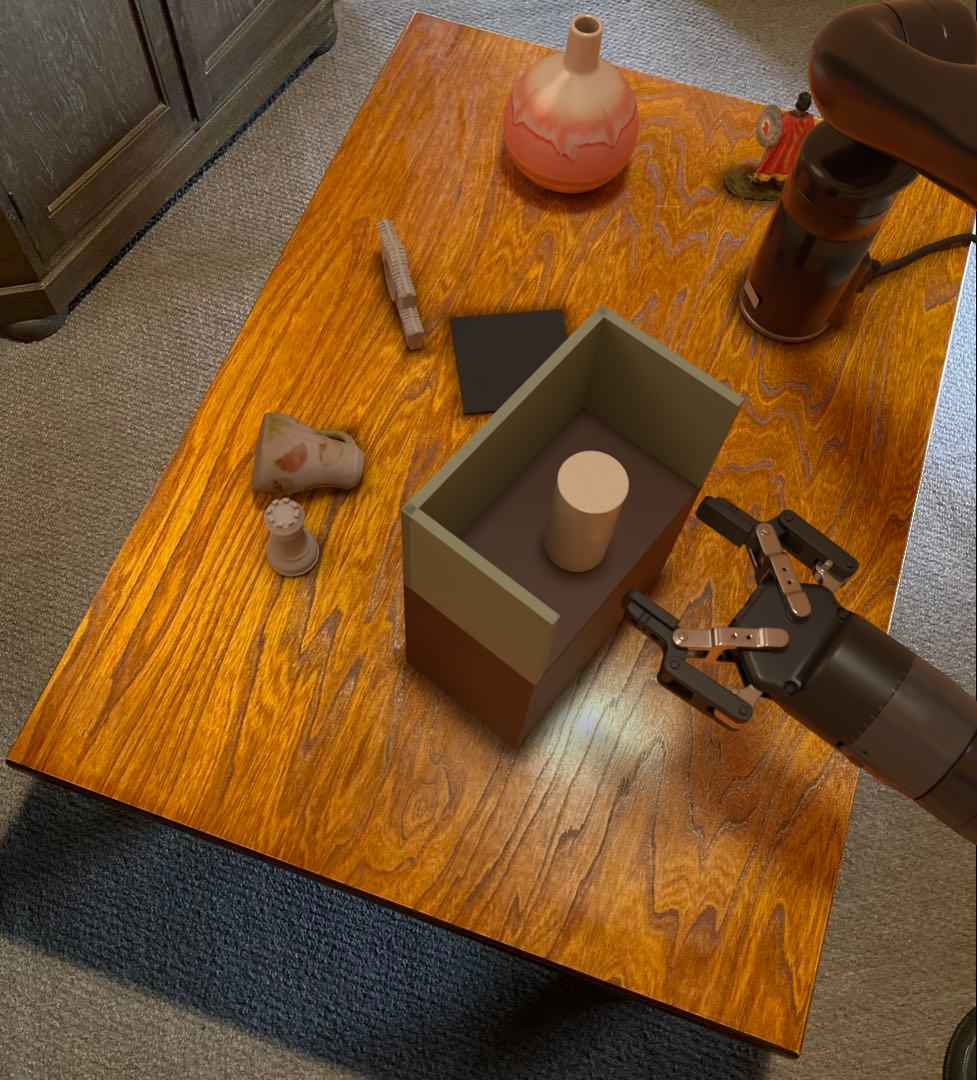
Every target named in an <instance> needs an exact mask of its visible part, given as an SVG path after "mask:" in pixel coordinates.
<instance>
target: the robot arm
mask: <svg viewBox="0 0 977 1080" xmlns="http://www.w3.org/2000/svg"><path fill="white" fill-rule="evenodd" d="M806 73H807V82H808V83H807V84H808V87H809V93H810V95H811V99H812V101H813V103H814V106H815V108H816V109H817V111H818V112H819V114H820V116H821V118H822V120H821V121H818V123H816V124H814V127H813V128H812V129H811V130H810V131H809V132H808V133H807V134H806V136H805V137H804V139H803V141H802V143H801V145H800V147H799V149H798V152H797V154H796V157H795V159H794V161H793V164H792V166H791V169H790V171H789V174H788V176H787V178H786V181H785V183H784V186H783V188H782V191H781V193H780V196H779V198H778V199H777V200H776V203H775V205H774V208H773V210H772V213H771V215H770V218H769V220H768V222H767V225H766V228H765V230H764V232H763V235H762V236H761V240H760V241H759V244H758V247H757V249H756V252H755V253H754V256H753V259H752V261H751V264H750V266H749V269H748V271H747V274H746V276H745V278H744V279H743V281H742V283H741V285H740V288H739V291H738V306H739V310H740V313H741V314H742V316H743V318H744V320H745V321H746V322H747V323H748V325H749V326H751V327H752V329H754V330H755V331H757V332H758V333H760V334H761V335H762V336H764V337H767V338H769V339H771V340H774V341H778V342H783V343H790V344H791V343H793V344H794V343H797V344H798V343H803V342H807V341H811V340H813V339H815V338H817V337H819V336H820V335H821V334H823V332H825V330H826V329H827V328H830V327H836V326H837V325H838V324H839V322H840V320H841V318H842V317H843V315H844V313H845V311H846V309H847V307H848V305H849V304H850V302H851V300H852V298H853V296H854V295H855V294H856V295H857V294H863V293H864V291H865V289H866V288H867V286H868V284H869V282H870V280H871V279H872V278H876V277H879V276H881V275H884V274H886V273H889V272H891V271H893V270H896V269H897V268H899V267H902V266H905V265H906V264H909V263H910V262H912V261H914V260H916V259H917V258H919V257H921V256H923V255H926V254H928V253H931V252H934V251H937V250H939V249H942V248H945V247H947V246H950V245H954V244H958V243H961V242H972V243H973V244H975V245H977V234H975V233H971V232H965V233H960V234H959V233H958V234H955V235H951V236H949V237H945V238H943V239H939V240H937V241H934V242H931V243H928V244H926V245H925V244H924V246H921V247H919V248H917V249H915V250H913V251H912V252H909V253H908V254H906V255H904V256H901V257H900V258H896V259H895V260H893V261H891V262H888V263H886V264H884V265H882V263H881V261H879V260H878V259H876V258H875V259H874V258H872V256H871V254H870V251H869V250H870V247H871V246H872V244H873V243H874V240H875V238H876V237H877V235H878V233H879V231H880V229H881V227H882V225H883V224H884V222H885V220H886V218H887V216H888V214H889V212H890V210H891V208H892V207H893V205H894V204H895V201H896V200H897V198H898V196H899V195H900V193H901V192H903V191H904V190H905V189H907V188H908V187H909V186H911V185H912V184H913V183H914V182H915V181H916V180H917V179H918V178H919V177H920V176H922V177H923V178H924V179H926V180H928V181H929V182H930V183H932V184H934V185H935V186H937V187H938V188H940V189H941V190H942V191H944V192H946V193H948V195H951V196H952V197H954V198H956V199H958V200H959V202H962V203H963V204H965V205H966V206H968V207H969V208H970V209H972V210H973V211H975V212H976V213H977V19H976V17H975V15H974V13H973V11H972V10H971V8H970V7H969V6H968V5H967V4H966V3H965V2H964V1H963V0H885V1H878V2H870V3H864V4H859V5H856V6H853V7H851V8H848V9H846V10H844V11H841V12H839V13H838V14H836V15H835V16H833V17H832V18H831V19H829V20H828V21H827V22H826V23H824V26H822V28H821V29H820V31H819V32H818V33H817V35H816V37H815V38H814V40H813V42H812V45H811V48H810V51H809V54H808V59H807V72H806ZM694 515H695V517H696V518H697V519H698V520H699V521H700V522H701V523H703V524H705V525H706V526H707V527H708V528H710V529H711V530H713V531H714V532H716V533H718V534H719V535H720V536H722V537H723V538H725V539H726V540H728V541H729V542H730V543H732V544H733V545H734V546H736V547H737V548H739V549H742V547H743V545H744V546H745V549H746V552H747V554H748V556H749V559H750V562H751V564H752V568H753V570H754V581H755V584H756V588H755V589H754V590H753V592H752V593H751V594H750V596H749V597H748V599H746V602H745V603H744V606H742V607H741V608H740V609H739V610H738V611H737V612H736V613H735V615H734V617H732V619H731V621H730V622H729V624H728V625H727V626H715V627H711V628H707V629H706V628H692V627H691V628H690V627H689V628H688V627H680V626H679V624H680V622H681V621H680V619H679V618H677V617H675V616H674V615H673V614H671V613H670V611H667V610H666V609H665V608H663V606H661V605H659V604H658V603H657V602H655V601H654V600H652V599H651V598H650V597H648V596H647V595H646V594H645V593H641V592H640V591H639V590H637V589H636V588H633V587H630V588H629V590H628V591H627V592H626V593H625V594H624V596H623V598H622V600H621V602H620V606H621V607H622V609H623V610H625V612H624V614H623V616H624V618H623V619H625V621H626V622H627V623H628V624H629V625H630V626H632V627H633V628H635V629H636V630H637V631H638V632H640V633H641V634H643V635H644V636H645V637H647V638H648V639H649V640H650V641H652V642H653V643H655V644H656V645H657V646H659V648H660V649H661V652H662V659H661V662H660V666H659V670H658V672H657V673H656V681H657V683H658V684H659V685H660V686H661V687H663V689H665V690H668V692H670V693H671V694H673V695H674V696H676V697H678V698H679V699H681V700H682V701H684V702H685V703H686V704H688V705H689V706H690V707H692V708H694V709H695V710H697V711H698V712H700V713H701V714H703V715H704V716H706V717H707V718H709V719H710V720H712V721H713V722H714V723H716V724H718V725H719V726H721V727H722V728H724V729H725V730H727V731H729V732H730V733H731V732H732V733H736V732H739V731H740V730H741V729H742V728H744V727H745V726H746V725H747V723H748V722H749V721H750V720H751V718H753V715H754V709H755V706H756V705H757V703H758V702H759V700H760V698H761V699H766V700H770V701H772V702H774V703H775V704H777V706H779V707H780V709H782V710H783V712H784V713H786V714H787V715H789V716H790V717H791V718H793V719H794V720H796V721H797V722H798V723H800V724H801V725H802V726H804V727H805V728H806V729H807V730H809V731H811V732H812V733H813V734H814V735H816V736H817V737H818V738H820V739H821V740H822V741H824V742H825V743H827V744H828V745H829V746H830V747H832V748H833V749H835V750H836V751H837V752H839V753H840V754H842V755H843V756H844V757H845V758H846V760H847V761H849V762H850V763H851V764H852V765H853V766H855V767H857V768H859V769H862V770H863V771H865V772H866V773H867V774H868V775H870V776H872V777H873V778H874V779H876V780H877V781H879V782H881V783H882V784H884V785H886V786H888V787H890V788H891V789H892V790H893V789H894V790H895V791H896V792H899V793H900V794H902V795H903V796H905V797H907V798H908V799H909V800H912V801H913V803H915V804H916V805H918V806H919V807H920V808H922V809H923V810H924V811H926V812H927V813H928V814H930V815H931V816H933V817H934V818H935V819H937V820H938V821H939V822H940V823H942V824H943V825H944V826H946V827H948V829H950V830H952V831H953V832H955V833H956V834H957V835H959V836H960V837H962V838H963V839H965V840H966V841H968V842H969V843H971V844H973V845H975V846H977V700H976V699H975V698H973V697H972V696H971V695H970V694H969V693H968V692H967V691H966V690H965V689H964V688H962V686H960V685H959V684H958V683H957V682H956V681H955V680H953V679H952V678H951V677H949V676H948V675H946V674H945V673H944V672H942V671H941V670H940V669H938V668H937V667H935V666H934V665H932V664H931V663H929V662H928V661H926V660H925V659H924V658H923V657H921V656H919V655H918V654H916V653H915V652H914V651H913V650H911V649H909V647H907V646H905V645H904V644H902V643H901V642H899V641H898V640H897V639H895V638H894V637H892V636H891V635H889V634H888V633H886V631H884V630H882V629H881V628H879V627H878V626H877V625H875V624H874V623H872V622H871V621H869V620H868V619H867V618H865V617H864V616H862V615H861V614H859V613H857V612H854V611H851V610H849V609H847V608H845V607H844V606H843V605H842V604H841V603H840V602H839V600H838V599H837V597H836V596H835V594H836V593H837V591H839V589H841V588H843V587H844V586H846V584H847V583H848V582H849V581H850V580H851V578H852V577H853V576H854V575H855V574H856V573H857V572H858V570H859V568H860V564H859V561H858V560H857V558H855V557H854V556H853V555H852V554H850V553H849V552H848V551H846V550H845V549H844V548H842V547H841V546H839V545H838V544H837V543H836V542H834V541H833V540H832V539H830V538H829V537H828V536H826V535H825V534H824V533H823V532H822V531H820V530H818V529H817V528H816V527H815V526H813V525H812V524H810V523H809V522H808V521H807V520H805V519H804V518H802V516H800V515H799V514H798V513H796V512H795V511H793V510H792V509H783V510H782V511H781V512H780V513H779V514H778V515H776V516H774V517H773V518H771V519H770V520H768V521H760V520H758V519H756V518H754V517H753V516H751V515H750V514H749V513H747V512H746V511H744V510H743V509H742V508H740V507H738V506H737V505H736V504H734V503H733V502H731V501H730V500H728V499H727V498H725V497H722V496H717V497H713V496H712V495H706V496H705V497H704V498H702V501H701V502H700V503H699V505H698V506H697V508H696V510H695V513H694ZM789 555H791V556H792V557H793V558H794V559H796V560H797V561H798V562H800V563H801V564H802V565H803V566H805V567H806V568H807V569H809V570H810V571H811V576H812V577H813V580H814V581H815V582H816V583H807V582H806V583H805V582H800V581H799V578H798V575H797V572H796V571H795V569H794V566H793V563H792V561H791V558H790V556H789ZM689 662H701V663H702V664H703V665H714V666H715V665H716V666H735V667H736V669H737V673H738V675H739V678H740V680H741V683H742V685H743V687H738V686H736V685H733V684H728V685H726V686H724V685H722V684H720V683H719V682H718V681H716V680H714V679H713V678H711V677H710V676H708V675H707V674H705V673H704V672H703V671H701V670H699V669H698V668H696V667H695V666H694V665H692V664H690V663H689Z"/></svg>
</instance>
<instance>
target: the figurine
mask: <svg viewBox="0 0 977 1080" xmlns="http://www.w3.org/2000/svg"><path fill="white" fill-rule="evenodd" d="M812 102H813V98H812V95H811V93H810V92H808V91H807V90H806V91H801V92H799V94H798V97H797V100H796V103H795V104H794V109H791V110H787V111H785V112H784V113H783V112H782V110H781V108H780V107H779V106H777V105H776V104H768V105H766V106H765V107H764V108H763V109H762V110H761V112H760V113H759V115H758V118H757V120H756V124H755V125H756V126H755V138H756V139H755V141H756V142H757V143H758V145H759V146H760V147H762V148H764V149H765V150H764V151H763V153H762V155H761V159H760V163H759V164H758V167H757V168H756V170H754V169H739V170H734V171H732V172H731V171H730V172H726V174H725V176H724V182H723V183H724V185H725V187H726V189H727V191H728V192H730V194H731V195H732V196H733V197H735V196H736V197H737V198H739V199H741V200H745V199H748V200H751V199H754V200H756V201H758V200H760V201H763V200H766V201H768V202H769V201H771V202H773V201H778V198H779V196H780V193H781V191H782V188H783V186H784V183H785V181H786V178H787V176H788V174H789V171H790V169H791V166H792V164H793V161H794V159H795V157H796V154H797V152H798V149H799V147H800V145H801V143H802V141H803V139H804V137H805V136H806V134H807V133H808V132H809V131H810V130H811V129H812V128H813V127H814V126H815V116H814V114H813V113H809V112H808V110H809V109H810V107H811V106H812Z"/></svg>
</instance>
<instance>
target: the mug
mask: <svg viewBox="0 0 977 1080" xmlns="http://www.w3.org/2000/svg"><path fill="white" fill-rule="evenodd" d="M340 440H341V441H340ZM365 461H366V458H365V454H364V451H363V450H362V449H361V448H360V447H359V446H358V445H357V444H356V441H355V439H353V437H352V436H351V435H350V434H348V433H346V432H345V431H343V430H337V429H322V430H321V429H315V428H313V427H312V426H310V425H308V424H306V423H305V422H303V421H302V420H300V419H298V418H296V417H294V416H292V415H289V414H286V413H280V412H265V413H263V416H262V419H261V423H260V427H259V432H258V437H257V442H256V447H255V454H254V461H253V467H252V475H251V490H252V491H254V492H256V493H260V494H263V495H267V496H285V495H291V494H297V493H299V492H303V491H308V490H311V489H316V488H325V487H326V488H327V487H328V488H339V489H345V490H350V489H352V488H353V487H355V486H357V485H358V484H359V483H360V481H361V478H362V477H363V474H364V470H365V463H366V462H365Z"/></svg>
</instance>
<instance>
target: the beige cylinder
mask: <svg viewBox="0 0 977 1080" xmlns="http://www.w3.org/2000/svg"><path fill="white" fill-rule="evenodd" d="M628 490H629V480H628V476H627V473H626V471H625V469H624V468H623V466H622V465H621V464H620V463H619V462H618V461H617V460H616V459H614V458H613V457H611V456H610V455H607V454H605V453H602V452H597V451H584V452H580V453H577V454H574V455H573V456H571V457H569V458H568V459H567V460H566V461H565V462H564V463H563V464H562V466H561V468H560V469H559V472H558V476H557V481H556V485H555V489H554V494H553V498H552V502H551V507H550V511H549V515H548V520H547V524H546V528H545V533H544V537H543V545H544V549H545V552H546V554H547V556H548V557H549V559H550V560H551V561H552V562H553V563H554V564H555V565H557V566H558V567H560V568H562V569H564V570H567V571H571V572H583V571H587V570H590V569H592V568H594V567H596V566H597V565H598V564H599V563H600V562H601V561H602V560H603V559H604V557H605V555H606V552H607V549H608V547H609V544H610V541H611V538H612V535H613V533H614V530H615V527H616V524H617V522H618V519H619V516H620V513H621V510H622V508H623V505H624V502H625V499H626V496H627V494H628Z"/></svg>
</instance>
